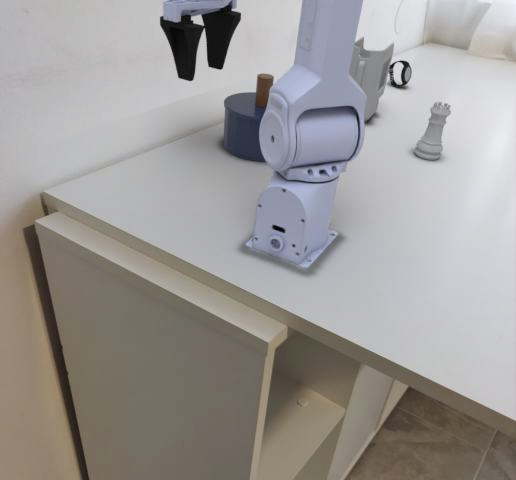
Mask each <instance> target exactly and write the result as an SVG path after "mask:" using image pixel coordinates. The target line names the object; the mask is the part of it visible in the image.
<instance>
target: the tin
mask: <svg viewBox="0 0 516 480" xmlns="http://www.w3.org/2000/svg"><path fill="white" fill-rule="evenodd" d="M223 122H224V123H223V142H222V143H223V147H224V149H225V150H226V151H227V152H228V153H229V154H232V155H233V156H236V157H238V158H241V159H244V160H248V161H253V162H266V160H265V159H264V157H263V154H262V151H261V147H260V141H259V129H260V123H261V122H260V121H253V120H248V119H244V118H241V117H238V116H236V115H233V114H231V113H230V112H228V111H227V110H226V109H225V108H224V121H223Z"/></svg>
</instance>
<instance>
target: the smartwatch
mask: <svg viewBox="0 0 516 480" xmlns="http://www.w3.org/2000/svg"><path fill="white" fill-rule="evenodd" d="M398 63H400V64H402V65H403V66H402V69H401V72H400V80H401V84H397V82H396V81H395V78H394V67H395V65H396V64H398ZM412 70H413V69H412V67H411V65H410V62H409V61H406V60H397V61H394V62H392V63H391V64H390V68H389V72H388V75H389V81H390V84H391V85H392V87H394V88H400V87H405V86H406V85H408V83H409V82H410V81H411V78H412V73H413V71H412Z"/></svg>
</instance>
